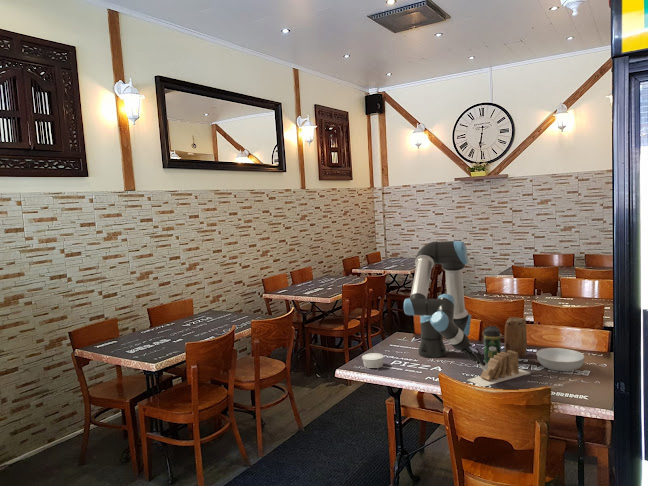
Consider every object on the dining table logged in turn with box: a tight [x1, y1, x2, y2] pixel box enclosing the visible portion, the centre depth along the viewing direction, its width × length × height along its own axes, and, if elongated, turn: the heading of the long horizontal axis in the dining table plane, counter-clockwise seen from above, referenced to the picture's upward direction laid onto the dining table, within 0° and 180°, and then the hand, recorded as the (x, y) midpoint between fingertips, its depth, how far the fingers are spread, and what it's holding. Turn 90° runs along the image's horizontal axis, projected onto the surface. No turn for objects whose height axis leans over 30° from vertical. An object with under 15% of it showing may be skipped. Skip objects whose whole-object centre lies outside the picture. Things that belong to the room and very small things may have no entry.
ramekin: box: [361, 352, 385, 369], centre depth 249 cm, size 11×11×5 cm
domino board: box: [467, 368, 531, 388], centre depth 222 cm, size 30×10×1 cm, turn 117°
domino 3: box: [497, 353, 508, 378], centre depth 222 cm, size 2×5×10 cm, turn 26°
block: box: [504, 316, 528, 358], centre depth 252 cm, size 11×8×20 cm
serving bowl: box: [535, 347, 585, 372], centre depth 231 cm, size 21×21×7 cm
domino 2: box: [493, 355, 505, 380], centre depth 221 cm, size 2×5×10 cm, turn 26°
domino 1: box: [480, 358, 501, 381], centre depth 220 cm, size 2×5×10 cm
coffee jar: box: [483, 325, 502, 363], centre depth 242 cm, size 10×8×19 cm
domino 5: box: [507, 350, 520, 374], centre depth 226 cm, size 2×5×10 cm, turn 27°
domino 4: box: [500, 351, 512, 376], centre depth 224 cm, size 2×5×10 cm, turn 27°
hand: (486, 368), depth 218 cm, fingers closed
